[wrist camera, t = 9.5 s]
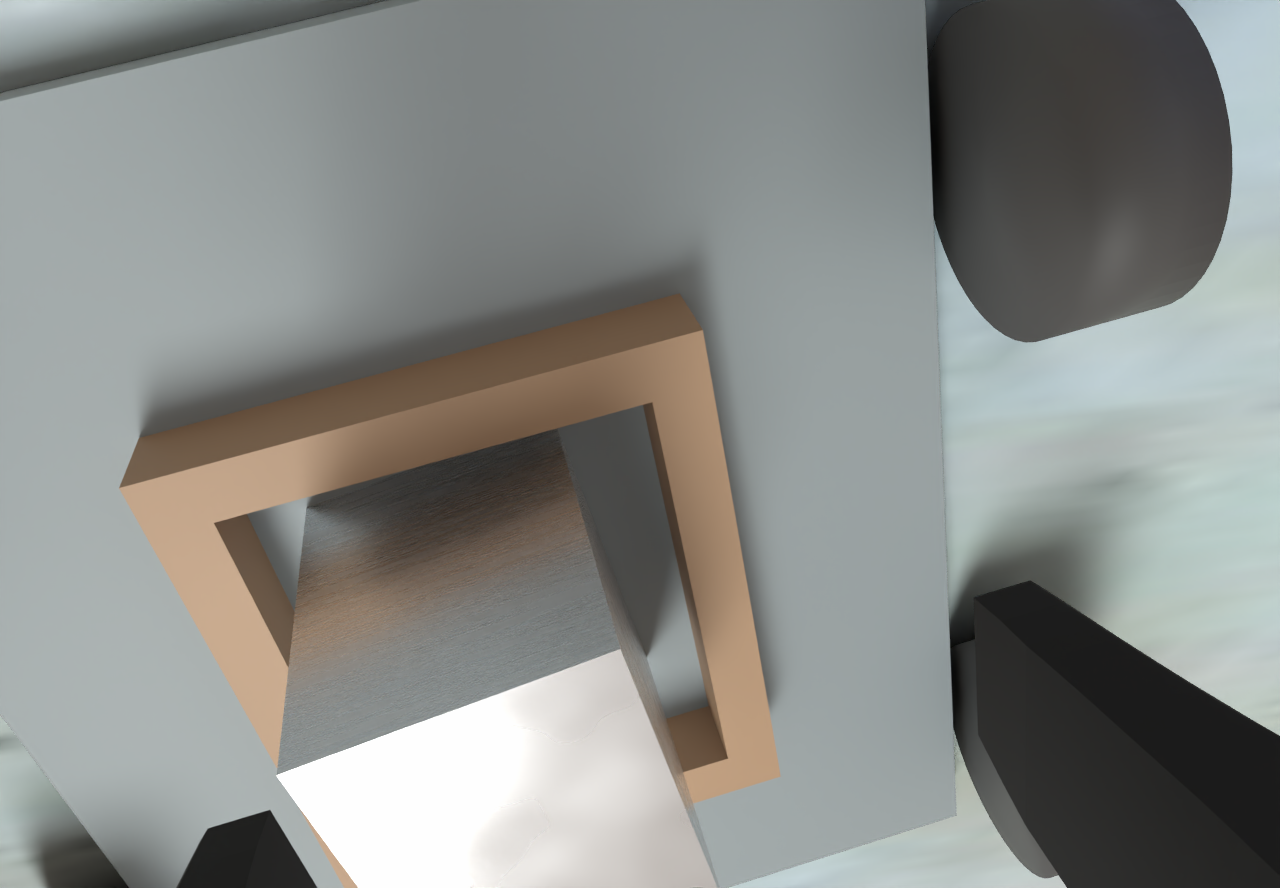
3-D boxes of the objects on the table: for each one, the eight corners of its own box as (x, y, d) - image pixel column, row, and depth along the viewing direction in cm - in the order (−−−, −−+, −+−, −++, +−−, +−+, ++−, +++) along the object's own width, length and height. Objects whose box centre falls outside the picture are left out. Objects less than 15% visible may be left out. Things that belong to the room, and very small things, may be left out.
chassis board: (1034, -155, 16) (1272, -148, 12) (1022, 765, 27) (1140, 939, 23) (-522, 217, 14) (-911, 385, 10) (157, 1036, 25) (111, 1279, 21)
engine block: (553, 418, 18) (619, 649, 13) (646, 657, 21) (728, 916, 16) (306, 507, 18) (276, 775, 13) (437, 734, 21) (454, 1019, 16)
